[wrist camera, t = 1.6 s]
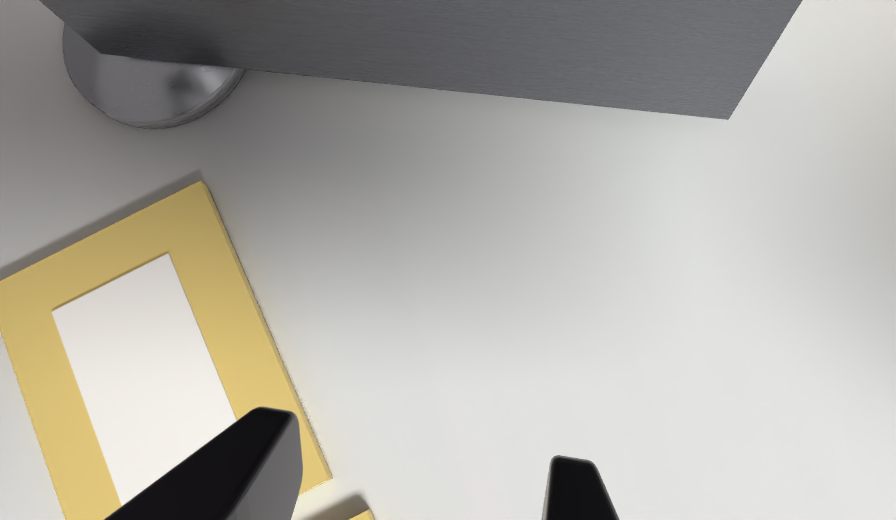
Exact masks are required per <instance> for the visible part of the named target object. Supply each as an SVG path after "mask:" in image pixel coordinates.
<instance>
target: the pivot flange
mask: <svg viewBox="0 0 896 520" xmlns="http://www.w3.org/2000/svg"><path fill="white" fill-rule="evenodd" d="M63 54H64V60H65V64H66V68H67V71H68V73H69V75H70V77H71V80H72V82H73V83H74V85H75V86H76V88H77V89H78V90H79V92H80V93H81V94H82V95H83V96H84V97H85V98H86V99H87V100H88V101H89V102H91V103H92V104H93V105H94V106H96V107H97V108H98V109H100V110H101V111H103V112H104V113H105V114H107V115H108V116H110V117H112V118H113V119H115V120H117V121H119V122H122V123H124V124H127V125H130V126H135V127H139V128H149V129H155V128H167V127H173V126H177V125H181V124H184V123H187V122H190V121H192V120H194V119H197V118H199V117H201V116H202V115H204V114H206V113H207V112H209V111H211V110H212V109H213V108H215V107H216V106H217V105H219V104H220V103H221V102H222V101H223V100H224V99H225V98H226V97H227V96H228V95H229V94H230V93H231V92H232V90H233V89H234V88H235V87H236V86H237V84H238V83H239V81H240V79H241V78H242V76H243V75H244V73H245V70H246V69H240V68H230V67H220V66H211V65H201V64H192V63H182V62H173V61H163V60H153V59H144V58H134V57H125V56H115V55H106V54H101V53H99V52H98V51H97V50H96V49H95V48H94V47H93V46H91V45H90V44H89V43H88V42H87V41H86V40H84V39H83V38H82V37H81V36H80V35H79V34H78V33H76V32H75V31H74V30H73V29H72V28H71V27H69V26H68V25H67V24H66V23H65V26H64V33H63Z"/></svg>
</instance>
